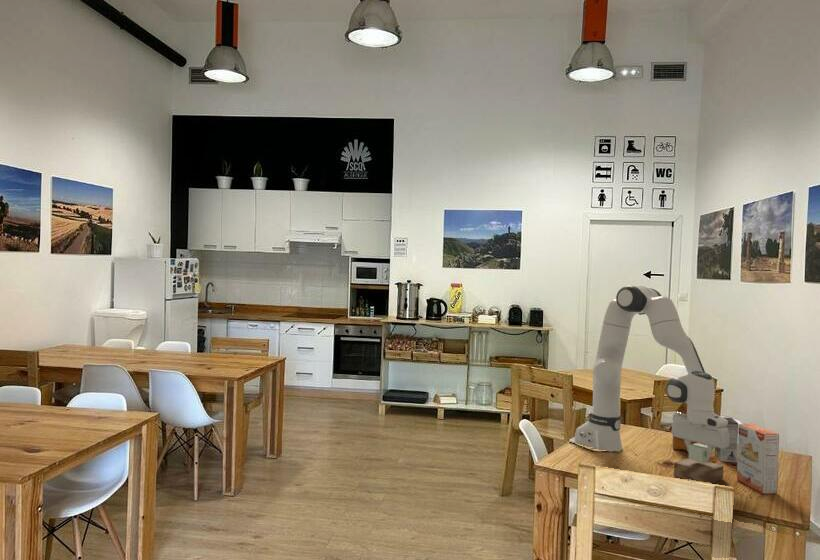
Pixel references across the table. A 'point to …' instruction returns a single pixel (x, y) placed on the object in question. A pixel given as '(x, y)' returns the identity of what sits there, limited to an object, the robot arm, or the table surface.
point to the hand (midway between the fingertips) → (698, 454)
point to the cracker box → (758, 458)
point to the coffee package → (679, 442)
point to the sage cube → (698, 452)
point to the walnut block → (698, 470)
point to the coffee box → (731, 451)
